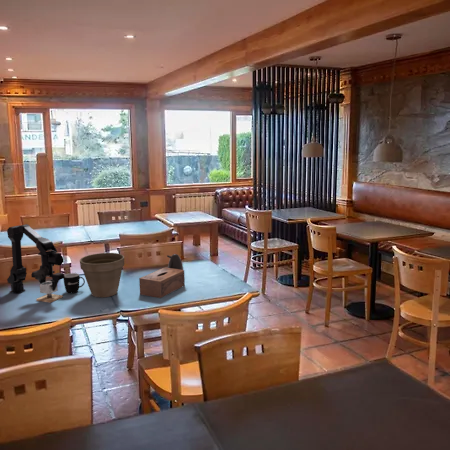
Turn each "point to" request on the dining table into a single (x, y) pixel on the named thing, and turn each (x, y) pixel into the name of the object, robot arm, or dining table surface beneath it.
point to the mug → (72, 282)
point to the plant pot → (103, 273)
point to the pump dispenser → (175, 262)
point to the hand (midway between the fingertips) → (48, 289)
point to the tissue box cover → (161, 282)
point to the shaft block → (49, 298)
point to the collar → (47, 287)
